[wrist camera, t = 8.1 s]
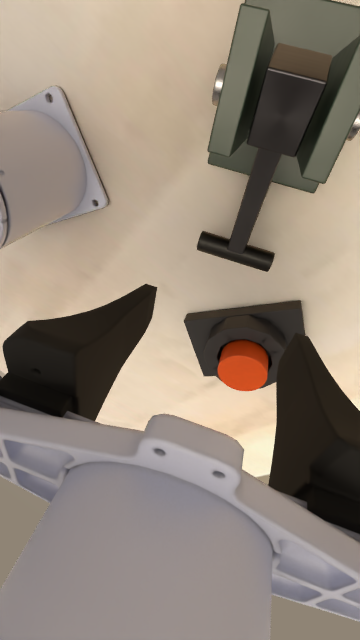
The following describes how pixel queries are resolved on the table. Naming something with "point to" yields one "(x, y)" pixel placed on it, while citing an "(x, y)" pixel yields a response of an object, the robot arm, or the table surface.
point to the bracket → (248, 73)
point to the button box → (245, 332)
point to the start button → (243, 365)
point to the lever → (273, 142)
